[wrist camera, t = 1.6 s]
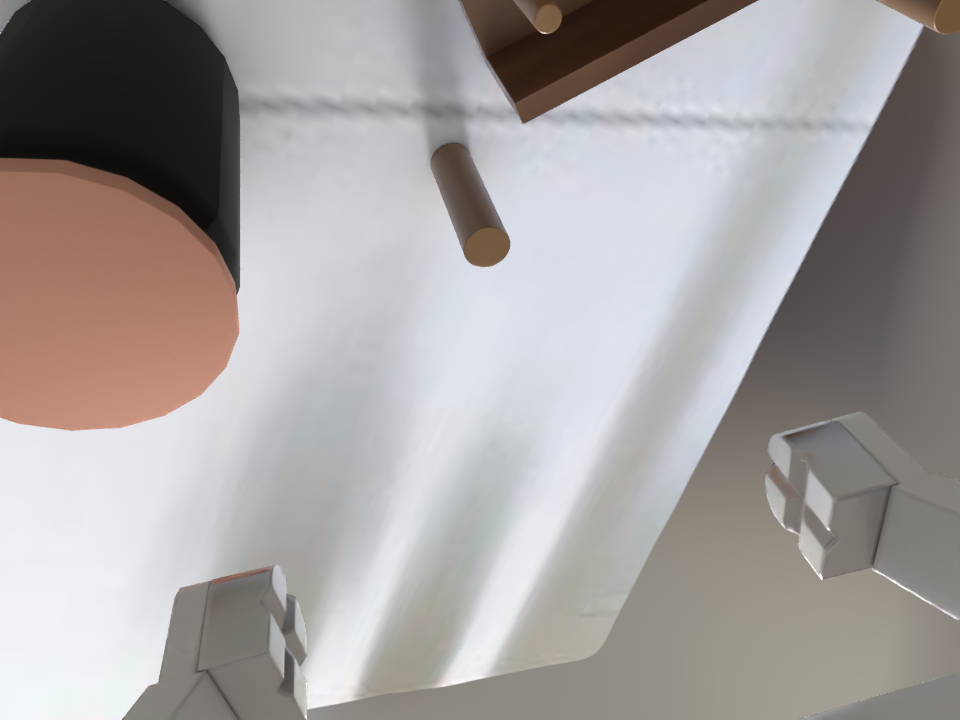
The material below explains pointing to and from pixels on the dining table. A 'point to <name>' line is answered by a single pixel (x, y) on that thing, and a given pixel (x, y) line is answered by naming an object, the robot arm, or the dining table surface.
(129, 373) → the coffee jar
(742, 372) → the dining table surface
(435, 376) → the dining table surface
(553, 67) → the plate rack
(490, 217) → the marker posts
